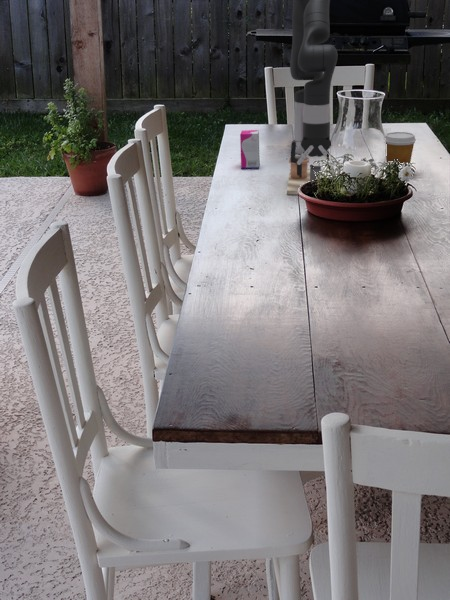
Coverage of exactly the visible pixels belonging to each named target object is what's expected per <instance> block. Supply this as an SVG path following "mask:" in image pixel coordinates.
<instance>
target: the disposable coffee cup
mask: <svg viewBox="0 0 450 600" xmlns="http://www.w3.org/2000/svg"><path fill="white" fill-rule="evenodd" d="M384 138H386V144H387V156H386V155H385V162H388V161H394V159H395V158H397V159H398V161H399V162H400V163H403V162H408V163H410V164H411V161H412V155H413V151H414V146H415V145H414V144H415V142H416V140H417V139H416V136H415V134H414V133H412V132H407V131H393V132H387V133H386V134H385V136H384Z"/></svg>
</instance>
